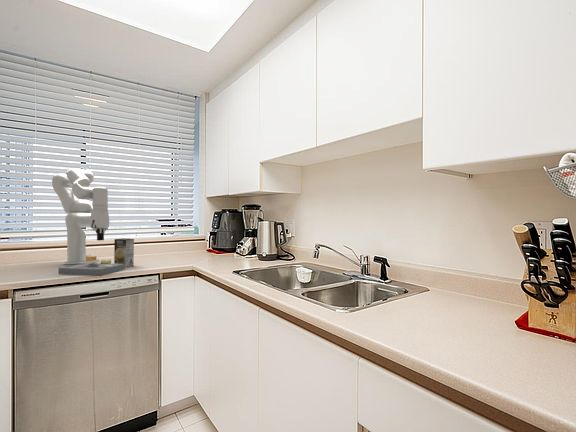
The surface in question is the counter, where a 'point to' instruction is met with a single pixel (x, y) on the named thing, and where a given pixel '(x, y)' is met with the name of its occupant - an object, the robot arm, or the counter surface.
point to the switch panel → (91, 269)
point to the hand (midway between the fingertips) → (100, 240)
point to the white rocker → (92, 261)
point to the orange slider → (90, 258)
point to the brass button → (106, 261)
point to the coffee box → (124, 251)
